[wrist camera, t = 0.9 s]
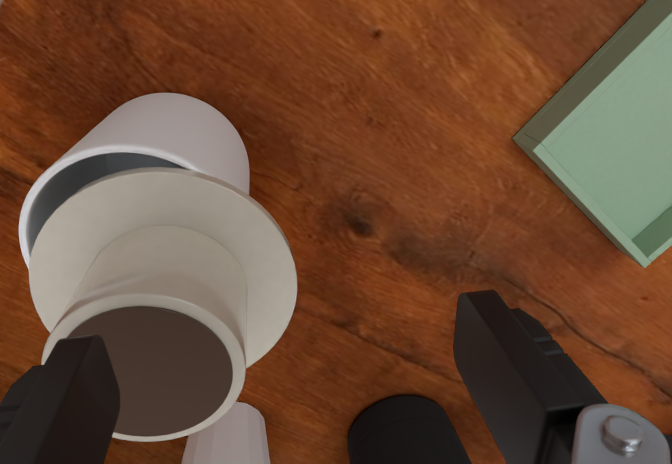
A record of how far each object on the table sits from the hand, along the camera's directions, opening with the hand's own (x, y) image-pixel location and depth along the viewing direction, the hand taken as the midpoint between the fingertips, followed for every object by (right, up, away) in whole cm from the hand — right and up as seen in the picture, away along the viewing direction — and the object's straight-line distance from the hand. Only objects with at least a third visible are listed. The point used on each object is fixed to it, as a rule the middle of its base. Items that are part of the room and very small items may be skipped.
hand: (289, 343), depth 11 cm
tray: (+22, +11, +19) cm, 32 cm away
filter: (-6, 0, +8) cm, 10 cm away
